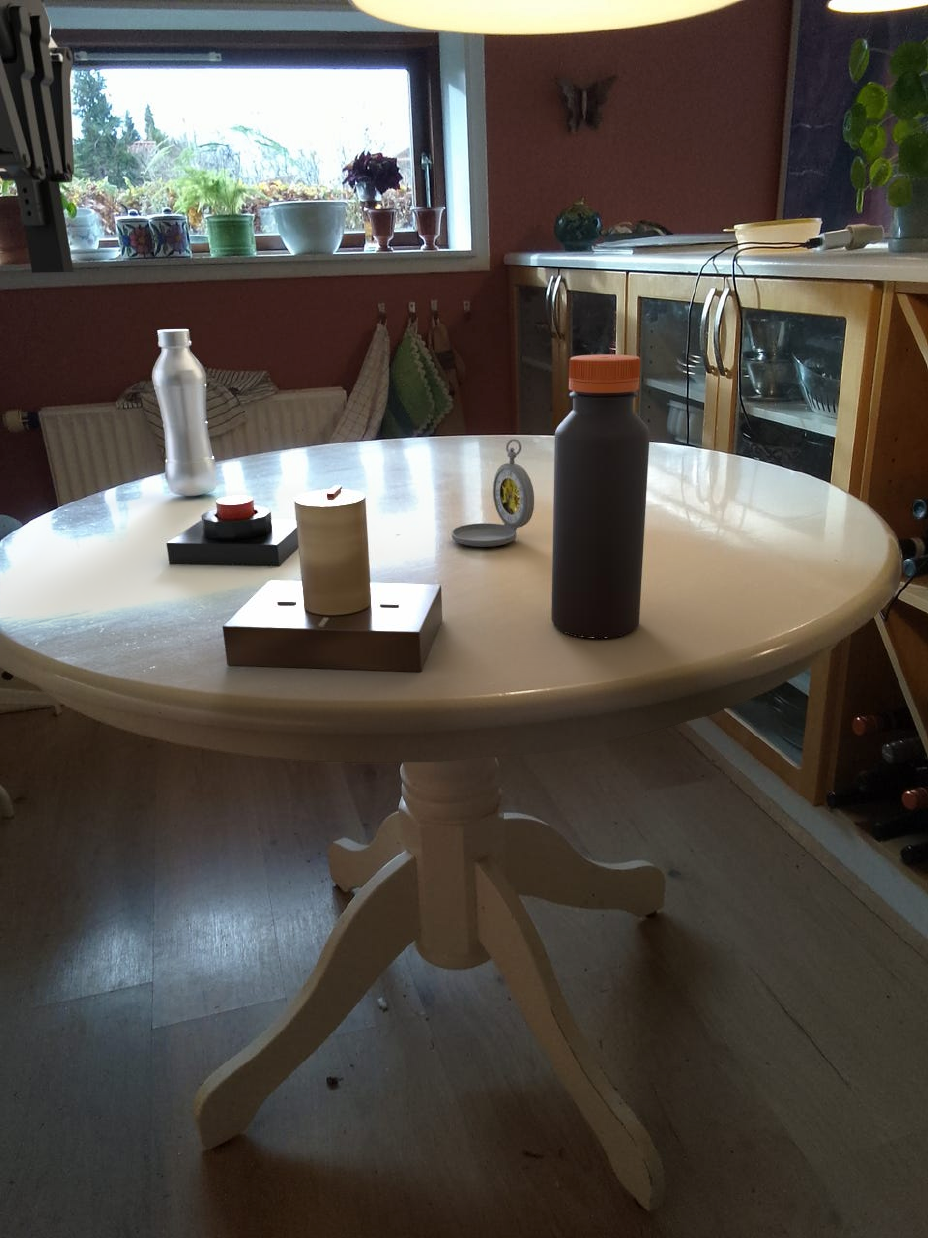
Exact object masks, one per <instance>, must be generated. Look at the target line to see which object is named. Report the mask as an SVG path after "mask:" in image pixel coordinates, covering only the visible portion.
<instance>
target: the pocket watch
mask: <svg viewBox="0 0 928 1238" xmlns="http://www.w3.org/2000/svg"><path fill="white" fill-rule="evenodd" d="M512 442H516V443H517V444H518V450H517V452H516V451H515V448H514V447H510V448H509V445H510V444H511V443H512ZM505 445H506V447H505V450H506V453H507V457H508V458H509V462H506V463H504V464H501V465H500V466H499V468H497V470H496V472H495V475H494V478H493V482H492V497H493V503H494V507H495V510H496V513H497V514H498V517H499V518H500V520H501V521H502V523H503V524H501V523H490V522H488V523H487V522H483V523H482V522H480V523H479V522H478V523H471V524H470V523H469V524H464V525H460V526H457V527H455V528H453V529H452V530H451V538H452V540H453V541H454V542H456V544H461V545H463V546H467V547H475V548H476V547H477V548H488V547H492V548H493V547H499V546H503V545H507V544H509V543H511V542H513V541H515V539H516V538H517V530H518V529H520V528H522V527H524V526H526V525H527V524H528V523H529V522H530V521H531V519H532V517H533V514H534V510H535V493H534V487H533V483H532V480H531V478H530V476H529V474H528V472H527V471H526V470H525V468H524V467H522V466H521V465H520V464H517V463H516V461H515V458H516V457H517V456H519V454H520V453H521V451H522V444H521V442H520V440H518V439H516V438H511V439H510V440H509V441H507V443H506V444H505Z"/></svg>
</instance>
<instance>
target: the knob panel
mask: <svg viewBox="0 0 928 1238" xmlns="http://www.w3.org/2000/svg"><path fill="white" fill-rule="evenodd" d="M371 598H372V602H371V604H370V606H368V607H367V608H365V609H363V610H361V611H358V612H355V613H350V614H344V615H320V614H315V613H311V612H309V611H307V610H306V609H305V608H304V604H303V592H302V581H301V580H300V581H298V580H268V581H267V582H266V583H264V585H263V586H262V587H261V588H260V589H259V590H258V591H257V592H256V593H255V594H254V595H253V596H252V597H251V598H250V599H248V601H247V602H246V603H245V604H243V606H241V608H239V610H237V612H235V613H234V615H233V616H231V618H229V619H228V620H227V621H226V622H225V624H223V625H222V633H223V642H224V649H225V655H226V656H225V658H226V665H227V666H241V667H244V666H245V667H270V668H272V667H273V668H297V669H298V668H299V669H300V668H301V669H326V670H327V669H328V670H355V671H356V670H357V671H381V672H382V671H384V672H386V671H387V672H408V673H409V672H414V673H421V672H422V670H423V668H424V665H425V663H426V660H427V658H428V656H429V653H430V651H431V649H432V646H433V643H434V641H435V638H436V636H437V633H438V631H439V628H440V626H441V623H442V621H443V600H442V599H443V597H442V584H431V583H427V584H425V583H388V582H387V583H386V582H371Z"/></svg>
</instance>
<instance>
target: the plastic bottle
mask: <svg viewBox="0 0 928 1238" xmlns="http://www.w3.org/2000/svg"><path fill="white" fill-rule="evenodd" d="M157 337H158V342H157V343H158V344H157V345H158V347H159V348H161V353H160V354H159V356H158V358H157V359H156V361H155V363H154V365H153V368H152V373H151V380H152V385H153V388H154V392H155V396H156V399H157V404H158V406H159V410H160V416H161V420H162V422H163V423H162V426H163V432H164V445H165V446H164V447H165V463H164V477H165V481H166V484H167V487H168V489H169V490H170V491H171V492H172V494H174V495H177V496H184V497H198V496H202V495H206V494H209V493H213V492H214V491H215V490H216V488H217V486H218V485H219V484H218V483H219V470H218V466H217V462H216V459H215V457H214V456H213V455H214V454H213V449H212V445H211V439H210V434H209V430H208V429H209V428H208V421H207V418H208V417H207V415H208V414H207V373H206V371H205V368H204V366H203V365H202V364H201V362H200V361H199V359H198V358H197V357H196V355H194V354H193V352H192V351H191V349H190V346H192V341H191V335H190V331H189V329H187V328H173V329H172V328H170V329H159V330H157Z"/></svg>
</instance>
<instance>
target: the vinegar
mask: <svg viewBox="0 0 928 1238" xmlns="http://www.w3.org/2000/svg"><path fill="white" fill-rule="evenodd" d="M641 360H642V358H641V357H640V356H637V355H630V354H615V353H614V354H611V353H609V354H607V353H606V354H605V353H604V354H603V353H601V354H600V353H599V354H581V355H574V356H571V357H570V358H569V365H568V366H569V367H568V368H569V369H568V370H569V371H568V372H569V373H568V390H570V393H569V395H568V396H569V397H570V398H572V410H571V411H570V412H569V414H568V415H567V416H566V417H565V418H564V419H563V420H562V421H561V422H560V424H558V426H557V427H556V429H555V432H554V450H553V503H552V504H553V505H552V508H553V511H552V512H553V513H552V556H551V558H552V559H551V609H550V610H551V612H550V613H551V614H550V615H551V616H550V617H551V618H550V619H551V622H552V624H553V625H554V627H555V628H556V627H557V628H556V629H557V630H559V629H560V630H559V631H561V632H562V631H563V632H562V633H564V632H567V633H569V634H568V635H570V634H572V635H571V636H573V635H576V636H575V637H577V636H583V637H594V638H605V637H615V638H617V637H616V636H619V637H621V636H620V635H624V636H626V635H628V634H630V633H632V632H634V631H635V630H636V629H637V628H638V627H639V624H640V612H641V611H640V610H641V597H642V596H641V595H642V578H643V577H642V576H643V562H644V561H643V560H644V558H643V557H644V542H645V541H644V540H645V526H646V525H645V524H646V509H647V508H646V507H647V491H648V490H647V489H648V473H649V469H648V468H649V457H650V456H649V452H650V440H651V439H650V436H651V433H650V428H649V427H648V426H647V424H646V423H645V422H644V420H642V418H641V417H640V416H639V415H638V413H637V412H636V411H635V410H634V403H635V402H634V400H635V398H637V397H638V395H639V392H636V391H638V390H640V389H639V388H640V377H641ZM629 632H630V633H629ZM567 633H566V634H567ZM627 633H628V634H627ZM625 634H626V635H625ZM583 637H582V638H583ZM605 639H606V638H605Z"/></svg>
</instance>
